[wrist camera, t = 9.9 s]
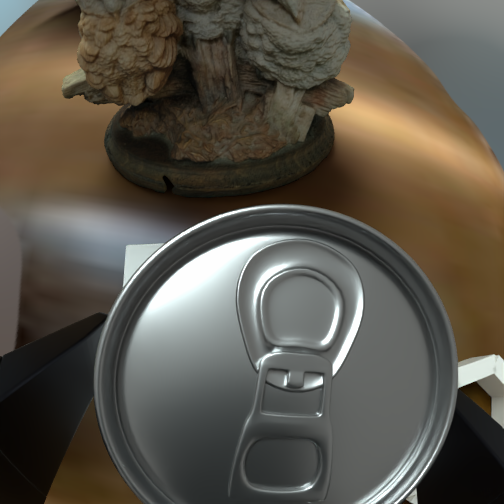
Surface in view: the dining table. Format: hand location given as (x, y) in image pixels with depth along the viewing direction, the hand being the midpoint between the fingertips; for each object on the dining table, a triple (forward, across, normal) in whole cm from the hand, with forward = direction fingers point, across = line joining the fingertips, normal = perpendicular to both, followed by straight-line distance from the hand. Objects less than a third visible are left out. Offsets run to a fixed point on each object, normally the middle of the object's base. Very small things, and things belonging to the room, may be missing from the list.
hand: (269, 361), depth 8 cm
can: (+5, 0, +6) cm, 8 cm away
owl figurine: (+17, +6, -4) cm, 18 cm away
